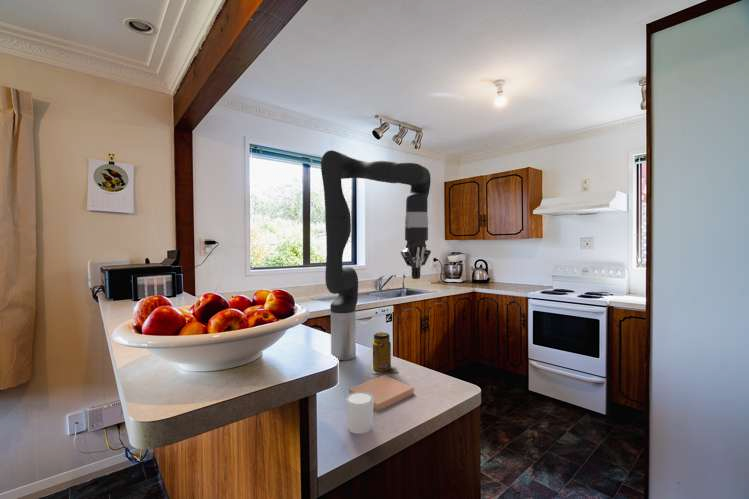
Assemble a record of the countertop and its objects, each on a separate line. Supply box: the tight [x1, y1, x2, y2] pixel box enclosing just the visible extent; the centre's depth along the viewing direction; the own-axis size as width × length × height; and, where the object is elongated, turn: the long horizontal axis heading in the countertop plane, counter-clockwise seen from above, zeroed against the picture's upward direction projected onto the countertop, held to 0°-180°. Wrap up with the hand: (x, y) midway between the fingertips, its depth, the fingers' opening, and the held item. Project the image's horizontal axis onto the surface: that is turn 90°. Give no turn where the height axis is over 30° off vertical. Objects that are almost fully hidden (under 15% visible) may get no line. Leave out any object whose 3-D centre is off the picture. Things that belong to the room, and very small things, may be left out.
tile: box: [348, 374, 415, 412], centre depth 97 cm, size 2×12×14 cm
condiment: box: [370, 332, 399, 375], centre depth 114 cm, size 7×8×12 cm
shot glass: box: [344, 392, 374, 435], centre depth 80 cm, size 7×7×7 cm
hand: (415, 278), depth 113 cm, fingers closed
